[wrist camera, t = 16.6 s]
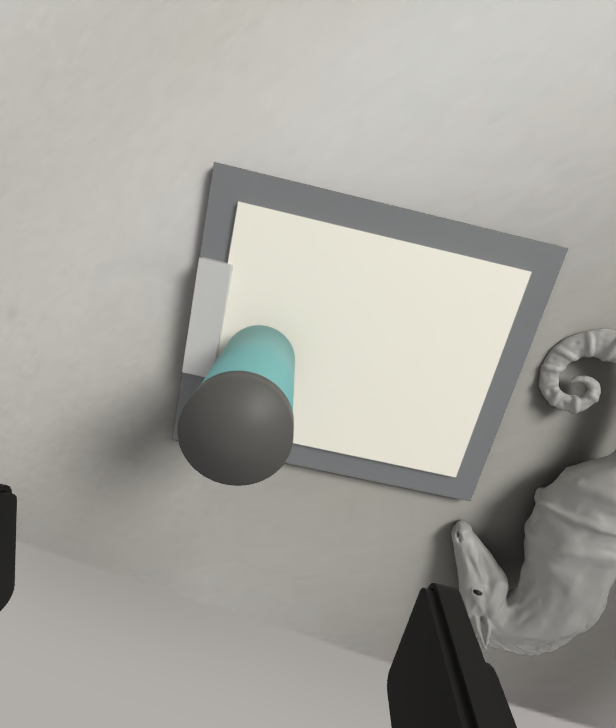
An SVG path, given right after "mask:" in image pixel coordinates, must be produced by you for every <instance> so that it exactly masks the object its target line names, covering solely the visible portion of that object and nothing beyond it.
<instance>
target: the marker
mask: <svg viewBox="0 0 616 728" xmlns="http://www.w3.org/2000/svg"><path fill="white" fill-rule="evenodd" d="M294 373H295V354H294V350H293V347H292V345H291V343H290V342H289V340H288V339H287V338H286V337H285V336H284V335H283V334H282V333H281V332H279V331H278V330H276V329H274V328H272V327H268V326H263V325H254V326H249V327H246V328H244V329H242V330H240V331H238V332H237V333H236V334H235V335H234V336H233V337H232V338H231V339H230V341H229V342H228V344H227V345H226V347H225V348H224V350H223V351H222V353H221V354H220V356H219V357H218V359H217V360H216V362H215V363H214V365H213V366H212V368H211V369H210V371H209V373H208V374H207V376H206V377H205V379H204V380H203V382H202V383H201V385H200V386H199V387H198V388H197V389H196V390H195V391H194V393H193V394H192V396H191V397H190V398H189V400H188V401H187V403H186V404H185V406H184V408H183V410H182V412H181V414H180V417H179V421H178V429H177V433H178V441H179V445H180V448H181V450H182V453H183V454H184V456H185V458H186V459H187V461H188V462H189V463H190V465H191V466H192V467H193V468H194V469H195V470H197V471H198V472H199V473H200V474H202V475H203V476H205V477H206V478H209V479H211V480H213V481H215V482H218V483H222V484H226V485H234V486H242V485H250V484H254V483H257V482H260V481H263V480H265V479H266V478H268V477H270V476H271V475H273V474H274V473H276V472H277V471H278V470H279V469H280V468H281V467H282V465H283V464H284V463H285V461H286V460H287V458H288V456H289V454H290V452H291V449H292V445H293V436H294V416H293V398H294Z"/></svg>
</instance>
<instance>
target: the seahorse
mask: <svg viewBox="0 0 616 728" xmlns="http://www.w3.org/2000/svg"><path fill="white" fill-rule="evenodd" d="M581 357H588V358H590V357H596V358H599V359H600V360H601V361H610V362H613V363H615V364H616V330H612V329H606V328H601V329H595V330H590V331H585V332H582V333H578V334H575V335H573V336H570V337H568V338H566V339H564V340H562V341H561V342H560V343H558V344H557V345H556V346H554V347H553V348H552V349H551V351H550V352H549V353H548V354H547V356H546V358H545V360H544V362H543V364H542V365H541V369H540V377H539V388H540V390H541V392H542V394H543V396H544V398H545V399H546V400H548V402H549V404H550V405H551V406H555V407H556V408H558V409H560V410H564V411H570V412H571V413H573V414H577V413H578V412H581V411H584V410H586V409H587V408H589V407H590V406H591V405H593V404H594V403H596V402H598V401H599V396H600V394H601V388H600V384H599V382H597V381H596V380H595V379H594V378H592V377H589V376H575V377H573V378H572V379H571V380H570V382H571V383H575V382H580V383H584V384H585V385H586V386H587V388H588V390H587V391H586V392H585V393H584V395H583V396H582V397H578V396H576V395H574V394H573V395H568V394H565V393H564V392H562V391H561V390H560V388H559V378H558V377H559V374H560V373H561V372H563V371H564V370H565V368H566V366H567V365H568V364H569V363H571V362H573V361H577V360H578V359H579V358H581ZM534 499H535V502H536V504H535V507H534V510H533V512H532V514H531V516H530V517H529V518H528V519H527V521H526V523H525V525H524V530H525V539H524V550H525V552H524V556H525V561H524V563H523V566H522V568H521V573H520V578H519V583H518V585H517V587H516V588H514V589H511V590H510V591H508V580H507V576H506V574H505V573H504V571H503V570H502V568H501V567H499V565H498V564H497V562H496V561H495V559H494V557H493V555H492V554H491V553H490V552H489V550H488V549H487V548H486V547H485V546H484V544H483V543H482V542H481V541H480V540H479V538H478V537H477V536H476V535H475V533H474V532H473V531H472V528H471V526H470V525H469V524H468V523H467V522H465V521H463V520H459V521H458V522H457V523H456V524H455V525H454V526H453V528H452V541H453V546H454V554H455V559H456V566H457V570H458V579H459V592H460V594H461V596H462V599H463V602H464V604H465V607H466V610H467V613H468V616H469V618H470V621H471V624H472V627H473V629H474V632H475V635H476V638H480V639H481V642H482V646H483V648H484V649H485V650H488V649H487V645H490V646H491V647H492V648H497V649H500V650H505V651H507V652H514V653H516V654H519V655H524V654H527V655H529V656H534V655H541V654H543V653H548V652H553V651H554V650H557V649H558V648H559V647H560V646H561V645H562V646H565V645H566V644H567V643H568V642H570V641H571V640H572V639H573V637H574V636H577V635H579V634H581V633H583V632H586V631H588V630H589V629H590V628H591V627H592V626H593V625H594V624H596V623H597V622H598V620H599V618H600V615H601V614H602V613H603V612H604V610H605V607H606V605H607V598H608V594H609V590H610V588H611V586H612V585H613V584H614V582H615V579H616V450H615V451H614V452H613V453H611V454H610V455H608V456H605V457H602V458H598V459H594V460H589V461H585V462H582V463H579V464H577V465H574V466H569V467H566V468H565V469H564V471H563V472H562V473H561V474H560V475H559V477H558V478H557V479H556V480H555V481H554V482H553V483H552V484H550V485H549V486H547V487H542V488H538V489H537V490H536V491H535V496H534Z"/></svg>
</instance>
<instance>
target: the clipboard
mask: <svg viewBox="0 0 616 728" xmlns="http://www.w3.org/2000/svg"><path fill="white" fill-rule="evenodd" d="M567 250H568V248H564V247H560V246H556V245H552V244H548V243H544V242H540V241H536V240H532V239H527V238H523V237H519V236H515V235H511V234H507V233H503V232H499V231H495V230H491V229H487V228H482V227H478V226H474V225H470V224H466V223H462V222H458V221H454V220H450V219H446V218H441V217H437V216H433V215H429V214H425V213H421V212H417V211H413V210H409V209H405V208H401V207H396V206H392V205H388V204H384V203H380V202H376V201H372V200H368V199H364V198H360V197H355V196H351V195H347V194H343V193H339V192H335V191H331V190H327V189H323V188H319V187H315V186H310V185H306V184H302V183H298V182H294V181H290V180H286V179H282V178H278V177H274V176H270V175H265V174H261V173H257V172H253V171H249V170H245V169H241V168H237V167H233V166H229V165H224V164H220V163H216V162H214V165H213V172H212V179H211V185H210V192H209V198H208V205H207V212H206V218H205V225H204V232H203V238H202V245H201V252H200V258H199V262H198V269H197V275H196V282H195V289H194V295H193V302H192V309H191V315H190V322H189V329H188V335H187V342H186V348H185V355H184V362H183V368H182V378H181V384H180V391H179V397H178V404H177V411H176V417H175V424H174V431H173V437H172V439H173V440H178V433H177V429H178V421H179V417H180V414H181V412H182V410H183V408H184V406H185V404H186V403H187V401H188V400H189V398H190V397H191V396H192V394H193V393H194V391H195V390H196V389H197V388H198V387H199V386H200V385H201V383H202V382H203V380H204V379H205V377H206V376H207V374H208V373H209V371H210V369H211V368H212V366H213V365H214V363H215V362H216V360H217V359H218V357H219V356H220V354H221V353H222V351H223V350H224V348H225V347H226V345H227V344H228V342H229V341H230V339H231V338H232V337H233V336H234V335H235V334H236V333H237V332H238V331H240V330H242V329H244V328H246V327H249V326H254V325H263V326H268V327H272V328H274V329H276V330H278V331H279V332H281V333H282V334H283V335H284V336H285V337H286V338H287V339H288V340H289V342H290V343H291V345H292V347H293V350H294V354H295V373H294V398H293V416H294V436H293V445H292V449H291V452H290V454H289V456H288V458H287V460H286V461H285V463H289V464H293V465H298V466H303V467H308V468H313V469H317V470H322V471H327V472H332V473H336V474H341V475H346V476H351V477H356V478H360V479H365V480H370V481H375V482H380V483H384V484H389V485H394V486H399V487H404V488H408V489H413V490H418V491H423V492H428V493H432V494H437V495H442V496H447V497H452V498H456V499H461V500H466V501H471V498H472V495H473V493H474V490H475V488H476V485H477V482H478V480H479V477H480V475H481V472H482V470H483V467H484V464H485V462H486V459H487V457H488V454H489V452H490V449H491V446H492V444H493V441H494V439H495V436H496V434H497V431H498V428H499V426H500V423H501V421H502V418H503V415H504V413H505V410H506V408H507V405H508V403H509V400H510V397H511V395H512V392H513V390H514V387H515V385H516V382H517V379H518V377H519V374H520V372H521V369H522V366H523V364H524V361H525V359H526V356H527V354H528V351H529V348H530V346H531V343H532V341H533V338H534V336H535V333H536V330H537V328H538V325H539V323H540V320H541V317H542V315H543V312H544V310H545V307H546V305H547V302H548V299H549V297H550V294H551V292H552V289H553V287H554V284H555V281H556V279H557V276H558V274H559V271H560V269H561V266H562V263H563V261H564V258H565V256H566V253H567Z"/></svg>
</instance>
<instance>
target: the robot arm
mask: <svg viewBox="0 0 616 728" xmlns="http://www.w3.org/2000/svg"><path fill="white" fill-rule="evenodd" d="M16 512H17V497H16V495H15V494H12V490H11V488H10V486H7V485H4V484H0V611H1V610H2V609H3V608H4V606H5V605H6V604H7V603H8V601H9V600H10V598H11V596H12V593H13V591H14V586H15V549H16ZM387 692H388V701H389V709H390V717H391V726H392V728H517V727H516V724H515V721H514V719H513V716H512V714H511V711H510V708H509V705H508V703H507V700H506V697H505V695H504V692H503V689H502V687H501V684H500V681H499V679H498V676H497V674H496V672H495V670H494V668H493V667H492V666H491V665H490V664H489V663H486V662H485V660H484V657H483V655H482V652H481V649H480V646H479V643H478V641H477V638H476V635H475V632H474V629H473V627H472V624H471V621H470V618H469V616H468V613H467V610H466V607H465V604H464V602H463V599H462V596H461V594H460V592H459V590H458V589H457V588H453V587H449V586H444V585H440V584H436V583H431V584H430V585H429V587H428V589H426V588H422V589H421V590H420V592H419V595H418V597H417V600H416V603H415V605H414V608H413V611H412V613H411V616H410V618H409V621H408V624H407V626H406V629H405V631H404V634H403V637H402V639H401V642H400V644H399V647H398V650H397V652H396V655H395V657H394V660H393V663H392V665H391V668H390V670H389V674H388V680H387Z"/></svg>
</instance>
